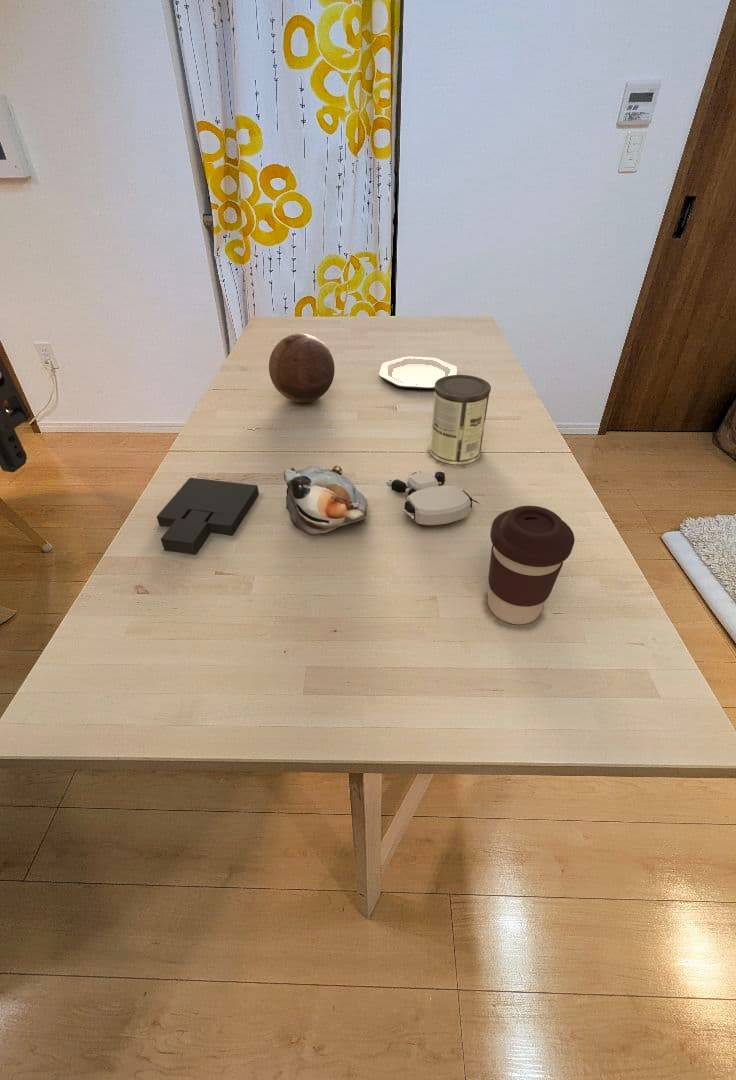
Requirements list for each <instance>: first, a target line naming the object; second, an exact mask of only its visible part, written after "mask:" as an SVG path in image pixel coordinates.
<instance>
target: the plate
mask: <svg viewBox="0 0 736 1080" xmlns="http://www.w3.org/2000/svg"><path fill="white" fill-rule="evenodd" d="M409 358H410V359H414V358H415V359H423V360H433V361H436V362H438V363H440V364H441V365H443V366H445V367H448V368H449V369H451V370H450V373H449V374H448V376H450V375H458V367H457V366H456V365H453V364H451V363H448V362H446V361H444V360H442V359H439V358H437V357H425V356H403V357H399V358H396V359H393V360H388V361H385V362H383V363H382V364H381V367H380V370H379V373H378V377H379V378H380V379H383V380H385V381H387V382H388V383H390V384H392V385H394V386H396V387H398V388H406V389H407V388H408V389H424V390H435V382H436V381H437V380H438V379H440V378H442V377H444V376H445V372H444V371H443V370H441V369H439V368H437V367H434V366H432V365H425V364H407V365H404V366H400V367H397V368H394V369H393V372H392V377H393V378H392V377H390V376H389V375H388V366H389V365H391V364H395V363H397V362H401V361H403V360H404V359H409ZM394 378H395V379H394ZM396 379H397V380H396ZM398 380H399V381H398ZM400 381H401V382H400ZM402 382H403V383H402ZM416 384H417V385H416Z"/></svg>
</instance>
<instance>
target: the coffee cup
mask: <svg viewBox="0 0 736 1080" xmlns="http://www.w3.org/2000/svg"><path fill="white" fill-rule="evenodd" d="M489 536H490V542H491V544H492V545H491V549H490V558H489V568H488V575H487V576H488V577H487V579H488V580H487V582H488V591H487V605H488V608H489V610H490V611H491V613H492V614H493V615H494V616H495V617H497V618H498V619H499V620H501V621H503V622H505V623H509V624H513V625H526V624H527V625H528V624H530V623H531V622H534V621H535V620H537V618H538V617H539V616H540V615H541V612H542V610H543V608H544V605H545V604H546V601H547V600H548V599H549V597H550V595H551V593H552V591H553V588H554V586H555V583H556V582H557V579H558V577H559V574H560V573H561V570H562V568H563V564H564V562H565V561H566V560H567V559H568V558H569V557H570V556H571V554H572V551H573V548H574V546H575V535H574V531H573V530H572V528H571V527H570V526H569V524H567V522H565V521H564V520H563V519H562V517H561V516H560V515H558V514H557V513H556V512H554V511H552V510H550V509H548V508H545V507H542V506H537V505H520V506H517V507H514V508H511V509H508V510H505V511H502V512H501V513H500V514H498V515H497V516H496V517H495V518H494V519H493V521H492V523H491V528H490V532H489Z"/></svg>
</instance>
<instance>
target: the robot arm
mask: <svg viewBox="0 0 736 1080" xmlns="http://www.w3.org/2000/svg"><path fill="white" fill-rule="evenodd" d="M5 401H6V402H7V405H8V406H9V408H10V410H8V409H6V407H5V404H4V403H5ZM30 419H31V413H30V411H29V409H28V407H27V405H26V404H25V400H24V399H23V397H22V395H21V393H20V391H19V389H18V387H17V386H16V383H15V381H14V380H13V377H12V375H11V374H10V371H9V369H8V368H7V365H6V363H5V362H4V360H3V357H2V356H1V355H0V469H1V470H2V471H3V472H5V473H15V472H16V471H18V470H19V469H21V468H22V467H23V466H24V465H26V463H27V460H28V457H27V452H26V451H25V449H24V447H23V445H22V442H21V440H20V438H19V436H18V434H17V432H16V428H17V427H19V426H20V425H22V424H24V423H25V422H28V421H29V420H30Z"/></svg>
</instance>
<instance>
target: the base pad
mask: <svg viewBox="0 0 736 1080" xmlns="http://www.w3.org/2000/svg"><path fill="white" fill-rule="evenodd" d="M259 495H260V491H259V486H258V485H257V484H249V483H240V482H232V481H223V480H216V479H215V480H214V479H205V478H198V477H197V478H196V477H189V478H187V480H186V481H185V483H183V485H182V486H181V487H180V488H179V490H178V491H177V492H176V493H175V494H174V495H173V497H172V498H171V499H170V500H169V501H168V502H167V504H166V505H165V506H164V507H163V508H162V510H161V511H159V513H158V514H157V516H156V519H157V522H158V525H159V527H164V528H170V526H171V525H172V524H173V523H174V521H175V520H176V519H177V518H180V519H185V518H186V517H187V515H188V514H189V513H190V512H191V510H195V511H203V512H210V513H211V518H210V519H209V520H208V525H209V529H210V533H211V534H217V535H226V536H234V534H235V533H236V531H238V528H239V527H240V525H241V524H242V522H243V521H244V519H245V518H246V516H247V514H248V513H249V511H250V509H251V508H252V506H253V504H254V503H255V502H256V500H257V499H258V497H259Z"/></svg>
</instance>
